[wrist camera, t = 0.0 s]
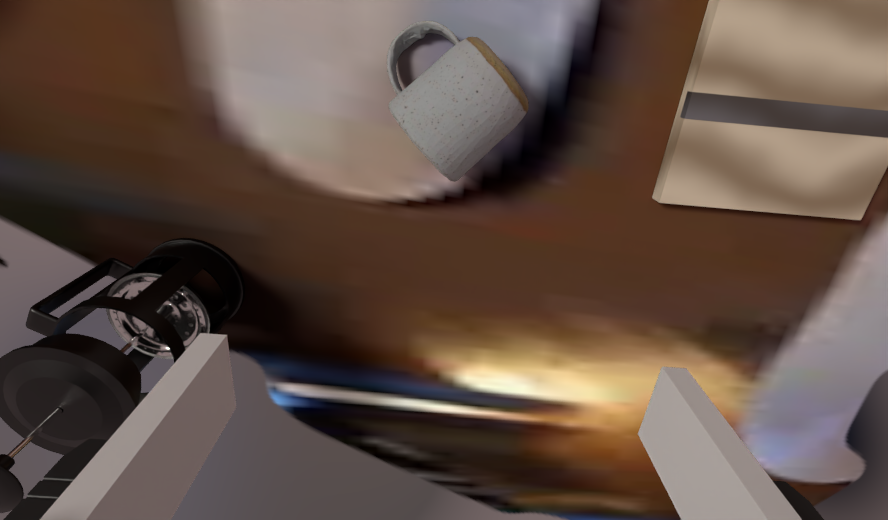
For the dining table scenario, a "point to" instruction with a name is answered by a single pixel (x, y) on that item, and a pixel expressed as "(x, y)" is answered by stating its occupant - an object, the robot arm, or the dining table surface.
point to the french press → (106, 349)
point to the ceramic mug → (455, 101)
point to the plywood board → (783, 109)
